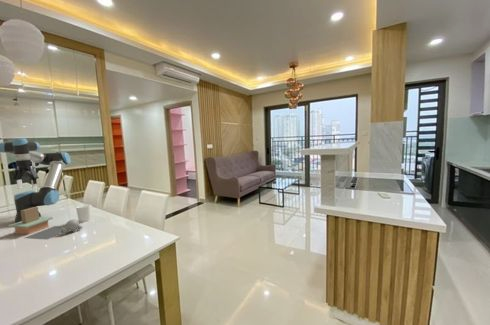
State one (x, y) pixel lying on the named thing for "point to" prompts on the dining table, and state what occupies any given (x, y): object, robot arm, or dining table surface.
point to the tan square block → (31, 228)
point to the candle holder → (84, 212)
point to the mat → (47, 233)
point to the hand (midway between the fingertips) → (27, 188)
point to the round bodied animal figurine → (70, 227)
